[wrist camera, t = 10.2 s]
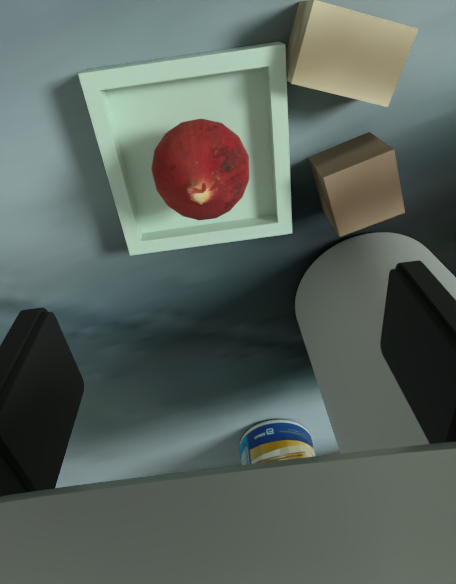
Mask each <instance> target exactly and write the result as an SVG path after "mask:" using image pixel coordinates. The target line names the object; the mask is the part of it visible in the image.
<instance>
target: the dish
mask: <svg viewBox="0 0 456 584" xmlns="http://www.w3.org/2000/svg"><path fill="white" fill-rule="evenodd" d="M78 76H79V79H80V83H81V86H82V90H83V93H84V97H85V100H86V103H87V107H88V110H89V114H90V117H91V121H92V124H93V128H94V131H95V135H96V138H97V142H98V145H99V149H100V152H101V156H102V159H103V163H104V166H105V170H106V173H107V177H108V180H109V184H110V187H111V191H112V194H113V198H114V201H115V205H116V208H117V211H118V215H119V218H120V222H121V225H122V229H123V232H124V236H125V239H126V243H127V246H128V250H129V253H130V256H131V255H138V254H145V253H152V252H160V251H167V250H174V249H182V248H189V247H196V246H204V245H211V244H218V243H226V242H233V241H240V240H248V239H255V238H262V237H270V236H277V235H284V234H292V209H291V183H290V156H289V129H288V102H287V76H286V49H285V44H284V43H281V42H272V43H265V44H258V45H251V46H245V47H238V48H231V49H224V50H217V51H210V52H203V53H196V54H189V55H182V56H175V57H168V58H161V59H154V60H147V61H140V62H133V63H126V64H119V65H113V66H106V67H99V68H92V69H86V70H84V71H82V72H80V73H79V74H78ZM196 119H206V120H210V121H215V122H220V123H222V124H224V125H225V126H226V127H227V128H229V129H230V130H231V131H233V132H234V133H235V134H236V135H238V136H239V138H240V140H241V142H242V144H243V146H244V148H245V150H246V151H247V153H248V155H249V182H248V184H247V187H246V189H245V192H244V195H243V197H242V198H241V199H240V200H239V201H238V202H237V203H236V205H235V206H234V207H233V208H232V209H231V210H230V211H229V212H227V213H225V214H223V215H221V216H219V217H217V218H215V219H207V220H196V219H192V218H188V217H184V216H182V215H180V214H179V213H177V212H176V211H174V210H173V209H172V208H170V207H169V206H168V205H167V204H166V203H165V201H164V200H163V199H162V197H161V196H160V194H159V193H158V192H157V190H156V186H155V182H154V178H153V174H152V170H151V167H152V162H153V156H154V150H155V148H156V147H157V145H158V144H159V142H160V141H161V139H162V138H163V136H164V135H165V133H167V132H168V131H170V130H171V129H173V128H174V127H176V126H177V125H178V124H180V123H181V122H186V121H191V120H196Z"/></svg>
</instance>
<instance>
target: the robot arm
mask: <svg viewBox="0 0 456 584" xmlns="http://www.w3.org/2000/svg"><path fill="white" fill-rule="evenodd" d="M380 347H381V352H382V355H383V357H384V359H385V360H386V362H387V364H388V366H389V368H390V370H391V372H392V374H393V376H394V377H395V379H396V381H397V383H398V385H399V387H400V389H401V391H402V393H403V394H404V396H405V398H406V400H407V402H408V404H409V406H410V408H411V409H412V411H413V413H414V415H415V417H416V419H417V421H418V423H419V425H420V426H421V428H422V430H423V432H424V434H425V436H426V438H427V440H428V442H429V443H430V444H425V445H414V446H404V447H394V448H384V449H376V450H367V451H358V452H349V453H341V454H332V455H323V456H314V457H306V458H297V459H288V460H280V461H271V462H263V463H255V464H246V465H238V466H229V467H221V468H213V469H204V470H196V471H188V472H180V473H171V474H163V475H155V476H147V477H139V478H131V479H123V480H115V481H107V482H99V483H91V484H83V485H75V486H68V487H61V488H55V486H56V483H57V479H58V476H59V473H60V469H61V466H62V463H63V459H64V456H65V453H66V449H67V446H68V442H69V439H70V436H71V432H72V429H73V426H74V422H75V419H76V415H77V412H78V409H79V405H80V402H81V399H82V395H83V392H84V382H83V378H82V376H81V374H80V371H79V369H78V367H77V365H76V362H75V360H74V358H73V356H72V353H71V351H70V349H69V346H68V344H67V342H66V340H65V337H64V335H63V333H62V331H61V328H60V326H59V324H58V321H57V319H56V317H55V315H54V313H52V312H48V311H47V310H46V309H45V308H36V309H28V310H22V311H21V312H20V313H19V315H18V316H17V318H16V320H15V322H14V323H13V325H12V327H11V328H10V330H9V332H8V334H7V335H6V337H5V339H4V340H3V342H2V344H1V346H0V584H456V300H455V299H454V298H453V296H452V295H451V294H450V293H449V292H448V291H447V290H446V288H445V287H444V286H443V285H442V284H441V283H440V282H439V280H438V279H437V278H436V277H435V276H434V275H433V274H432V273H431V271H430V270H429V269H428V268H427V267H426V266H425V265H424V263H423V262H421V261H419V260H418V261H410V262H402V263H398V264H397V265H396V267H395V269H391V270H390V272H389V278H388V286H387V294H386V302H385V309H384V317H383V325H382V333H381V341H380Z"/></svg>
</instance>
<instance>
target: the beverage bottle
mask: <svg viewBox="0 0 456 584" xmlns="http://www.w3.org/2000/svg"><path fill="white" fill-rule="evenodd" d="M239 448H240V457H241V465H246V464H255V463H263V462H271V461H280V460H288V459H297V458H306V457H314V456H315V453H314V449H313V443H312V440H311V436H310V434H309V432H308V431H307V430H306V429H305V428H304V427H303V426H302V425H300V424H298V423H296V422H293V421H290V420H282V419H278V420H269V421H265V422H262V423H259V424H257V425H255V426H253V427H252V428H250V429H249V430H248V431H247V432H246V433H245V434H244V436H243V437H242V439H241V442H240V447H239Z"/></svg>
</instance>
